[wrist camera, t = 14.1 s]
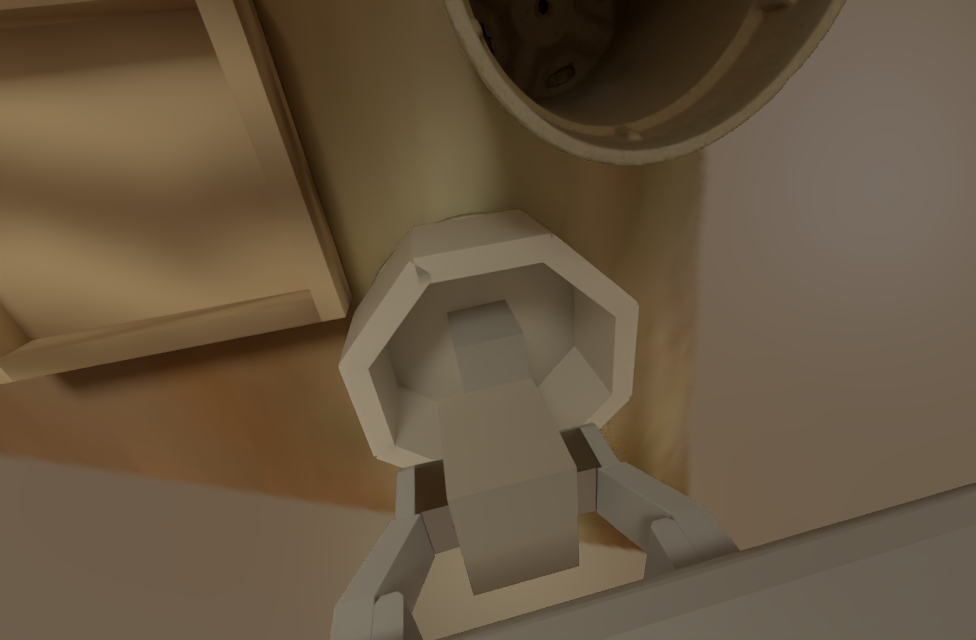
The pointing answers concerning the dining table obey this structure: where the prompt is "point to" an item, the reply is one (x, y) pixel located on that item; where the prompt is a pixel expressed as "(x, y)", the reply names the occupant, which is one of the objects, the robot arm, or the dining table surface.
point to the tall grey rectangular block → (488, 346)
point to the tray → (150, 185)
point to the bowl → (471, 282)
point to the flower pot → (638, 67)
